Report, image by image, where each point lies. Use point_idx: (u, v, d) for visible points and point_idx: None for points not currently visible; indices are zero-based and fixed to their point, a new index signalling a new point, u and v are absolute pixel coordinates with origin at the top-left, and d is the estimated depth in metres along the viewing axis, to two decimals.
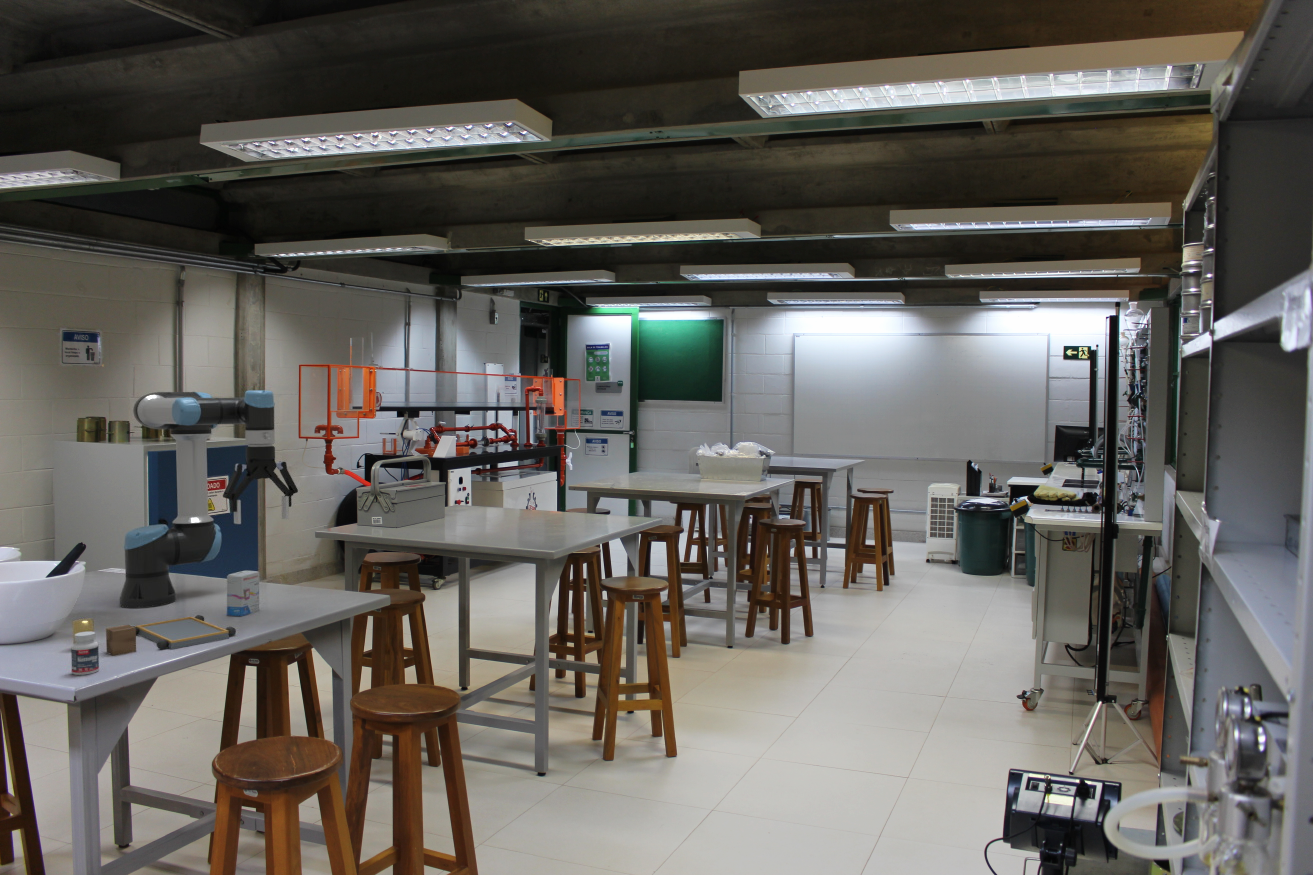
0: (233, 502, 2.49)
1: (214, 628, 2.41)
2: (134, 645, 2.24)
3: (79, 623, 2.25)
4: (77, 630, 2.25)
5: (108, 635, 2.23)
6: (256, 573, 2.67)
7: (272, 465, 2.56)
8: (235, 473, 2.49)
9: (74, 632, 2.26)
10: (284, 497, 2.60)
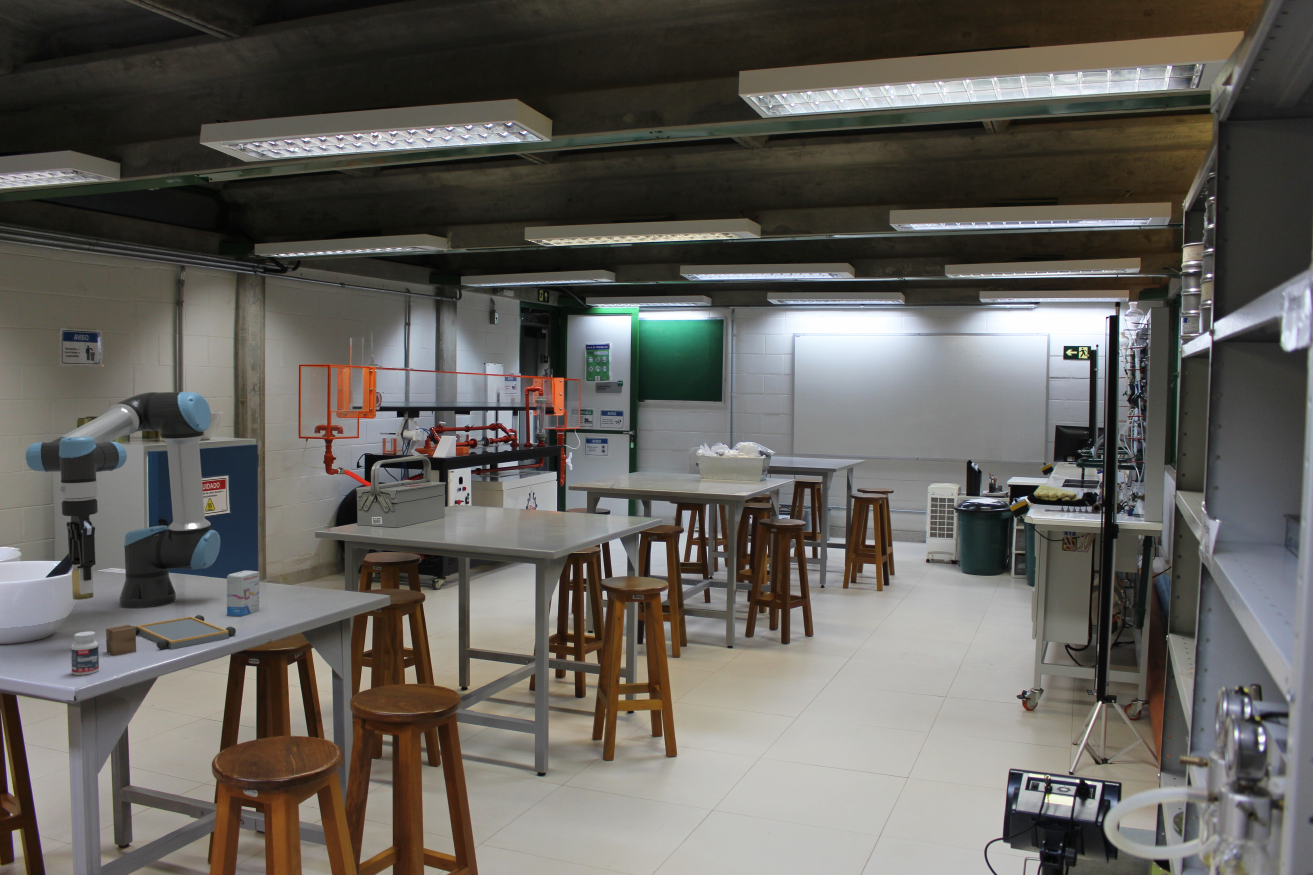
0: None
1: (214, 628, 2.41)
2: (134, 645, 2.24)
3: (78, 572, 2.25)
4: (76, 579, 2.25)
5: (108, 635, 2.23)
6: (256, 573, 2.67)
7: (79, 522, 2.24)
8: None
9: (73, 581, 2.26)
10: None
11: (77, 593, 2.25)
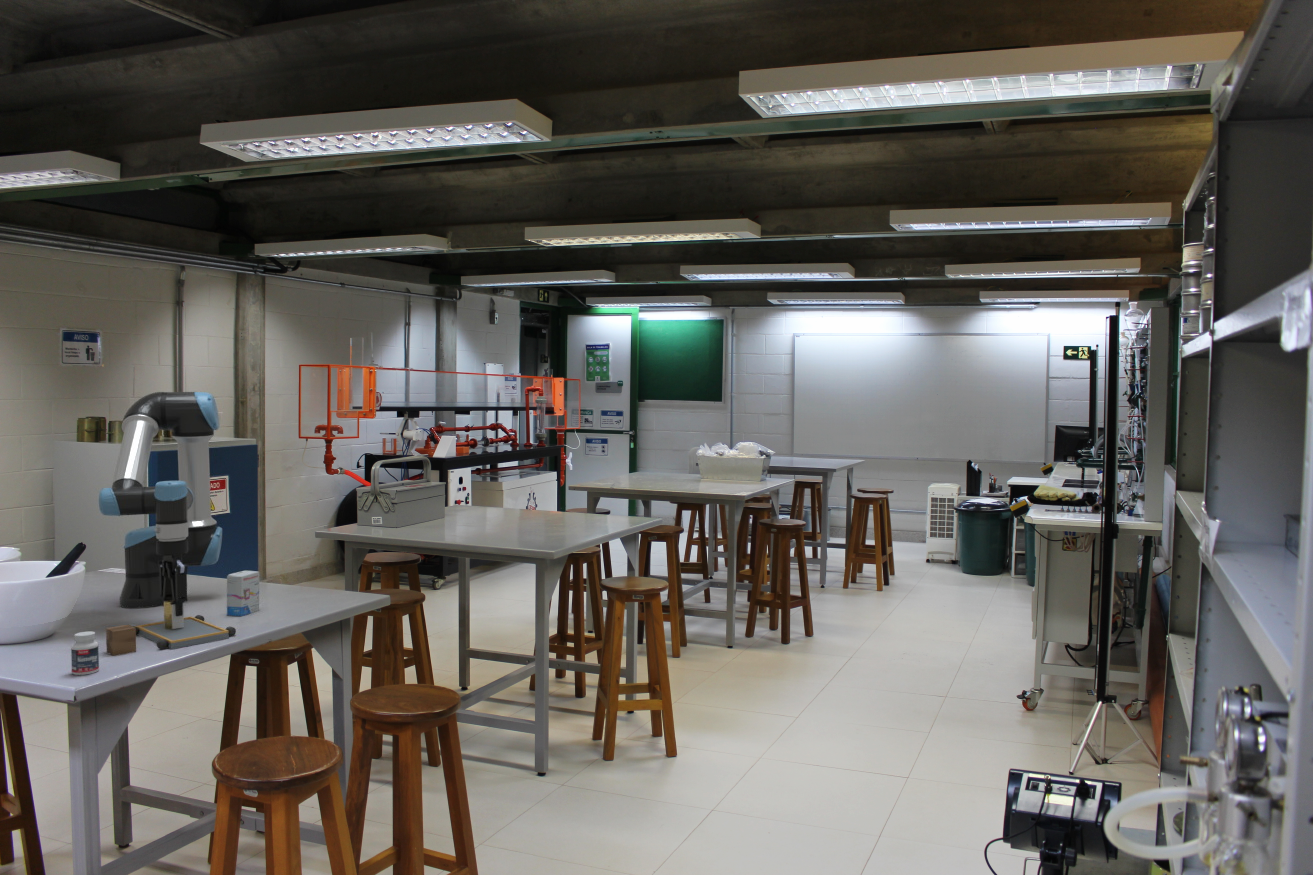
0: None
1: (214, 628, 2.41)
2: (134, 645, 2.24)
3: None
4: (169, 610, 2.40)
5: (108, 635, 2.23)
6: (256, 573, 2.67)
7: (172, 561, 2.39)
8: None
9: (165, 612, 2.40)
10: None
11: (169, 623, 2.40)
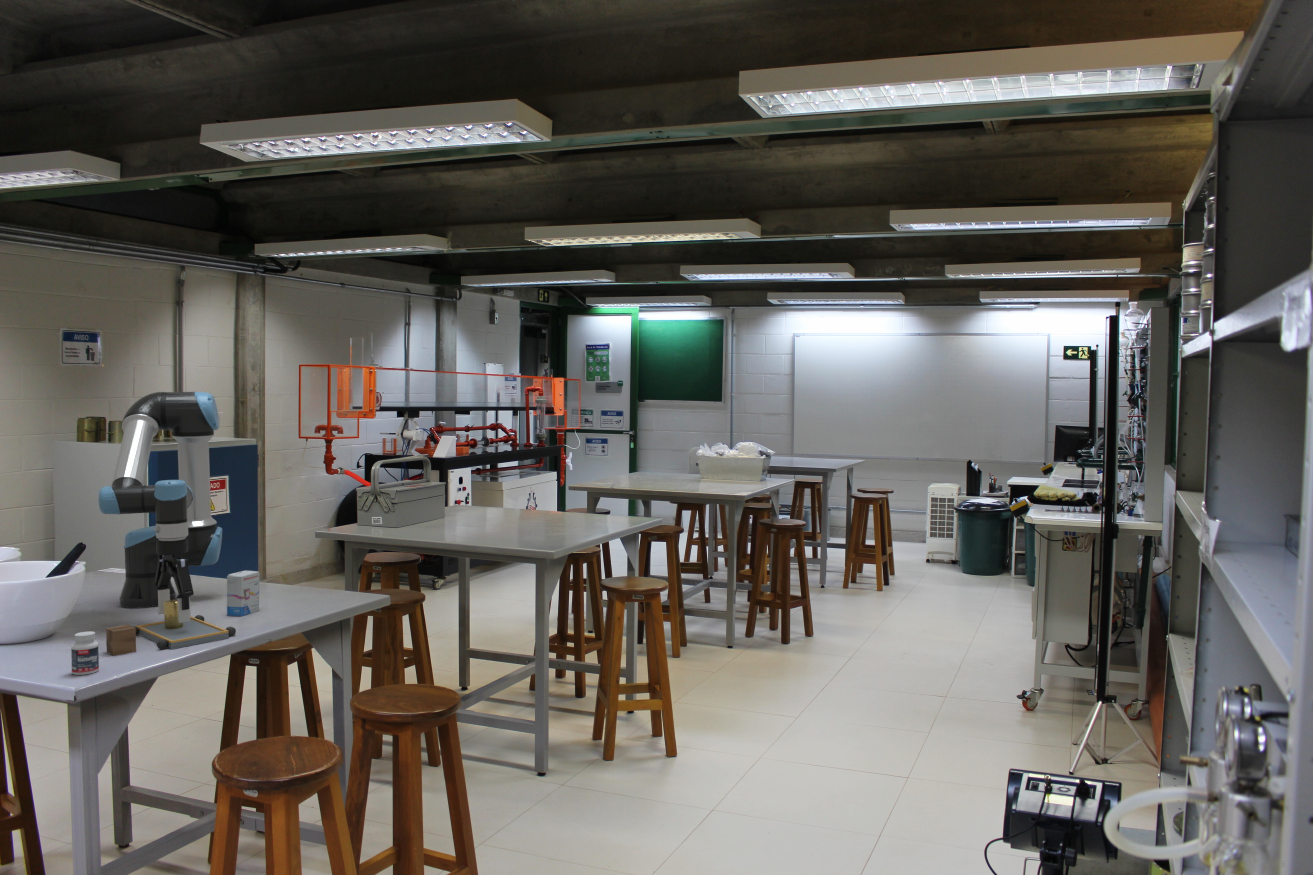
0: None
1: (214, 628, 2.41)
2: (134, 645, 2.24)
3: (170, 603, 2.40)
4: (169, 610, 2.40)
5: (108, 635, 2.23)
6: (256, 573, 2.67)
7: (172, 561, 2.39)
8: None
9: (165, 612, 2.40)
10: None
11: (169, 623, 2.40)
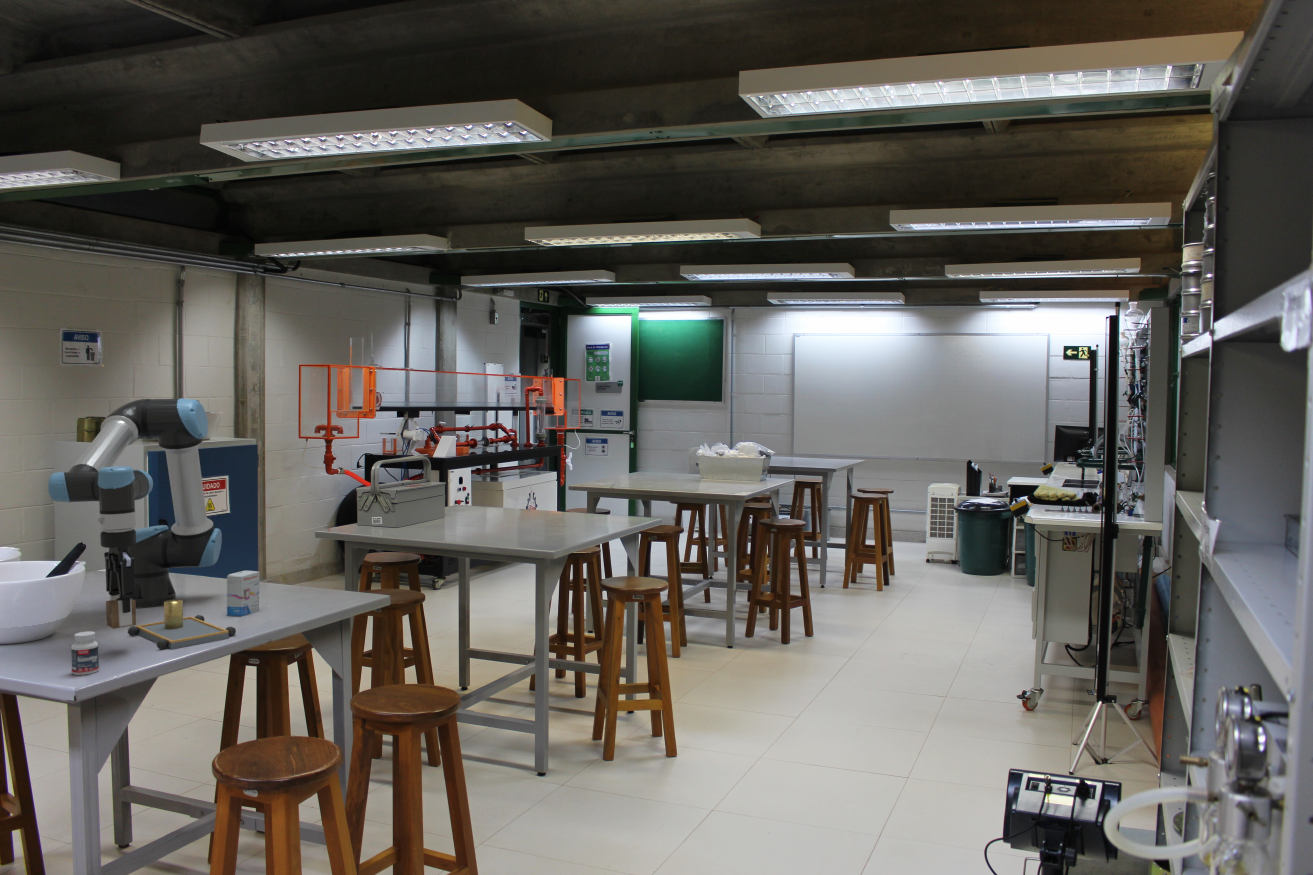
0: None
1: (214, 628, 2.41)
2: (134, 618, 2.24)
3: (170, 603, 2.40)
4: (169, 610, 2.40)
5: (108, 608, 2.23)
6: (256, 573, 2.67)
7: (118, 554, 2.21)
8: None
9: (165, 612, 2.40)
10: None
11: (169, 623, 2.40)
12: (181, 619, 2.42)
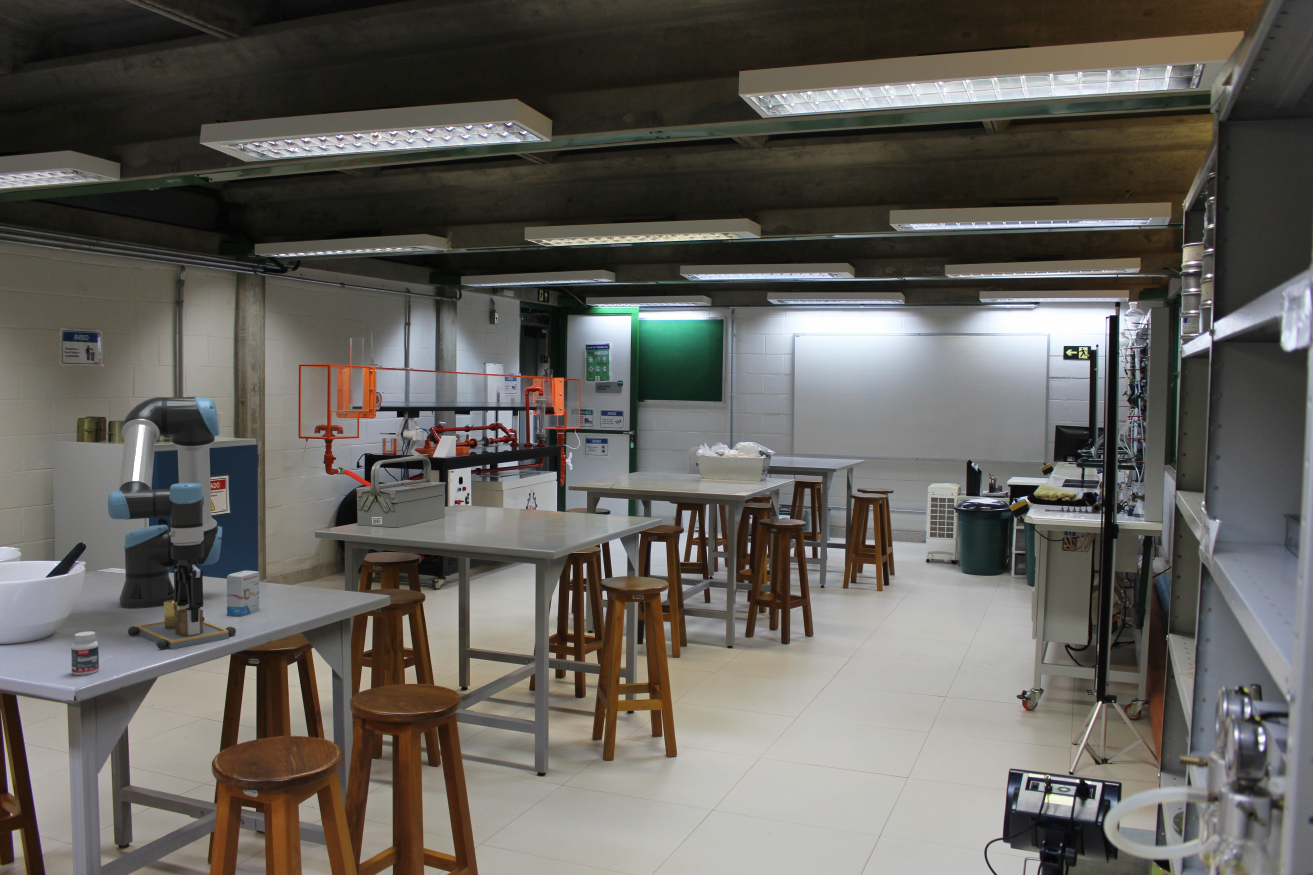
0: None
1: (214, 628, 2.41)
2: (201, 626, 2.36)
3: (170, 603, 2.40)
4: (169, 610, 2.40)
5: (177, 617, 2.35)
6: (256, 573, 2.67)
7: (187, 566, 2.33)
8: None
9: (165, 612, 2.40)
10: None
11: (169, 623, 2.40)
12: None
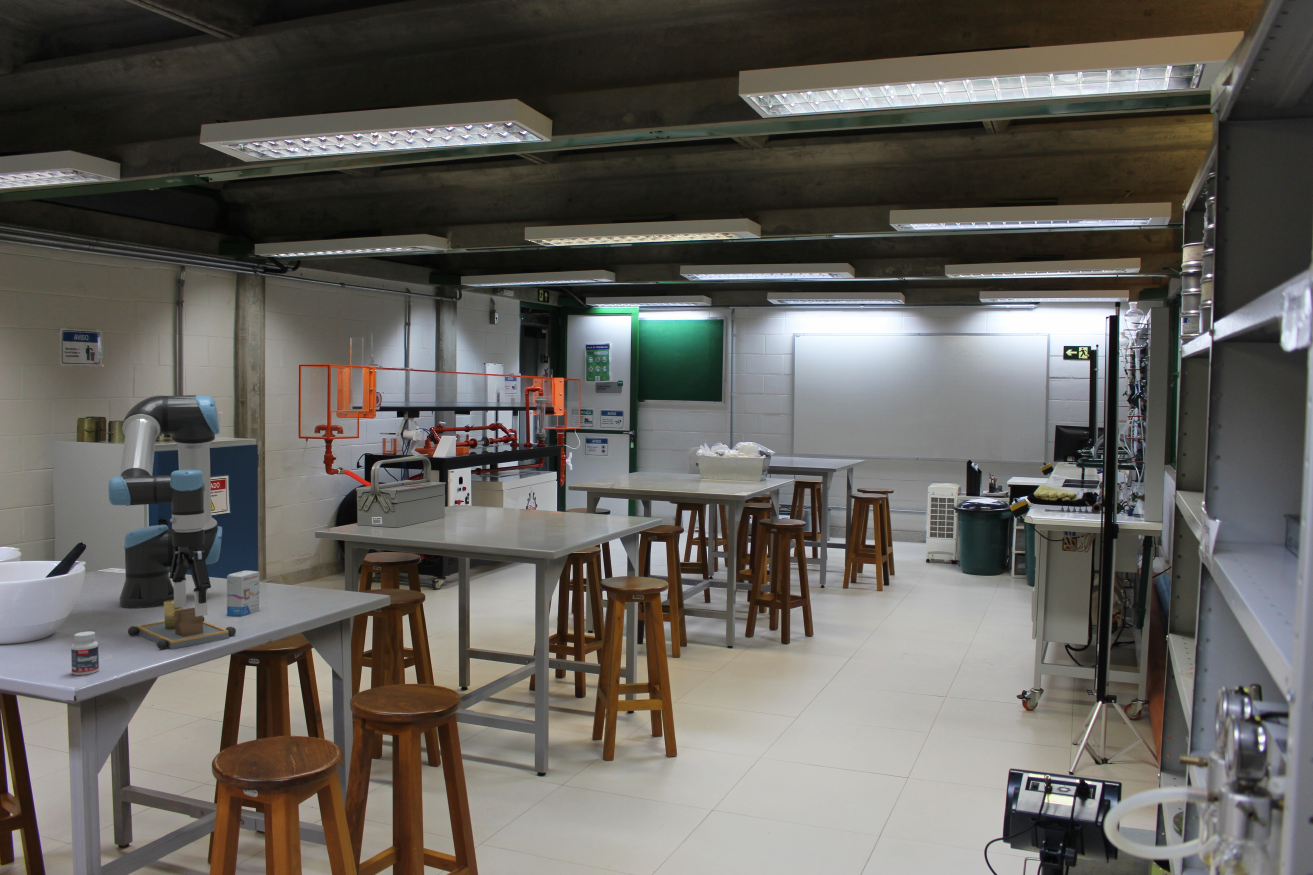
0: None
1: (214, 628, 2.41)
2: (201, 627, 2.36)
3: (170, 603, 2.40)
4: (169, 609, 2.40)
5: (177, 617, 2.35)
6: (256, 573, 2.67)
7: (188, 553, 2.33)
8: None
9: (166, 612, 2.40)
10: None
11: (170, 622, 2.40)
12: None
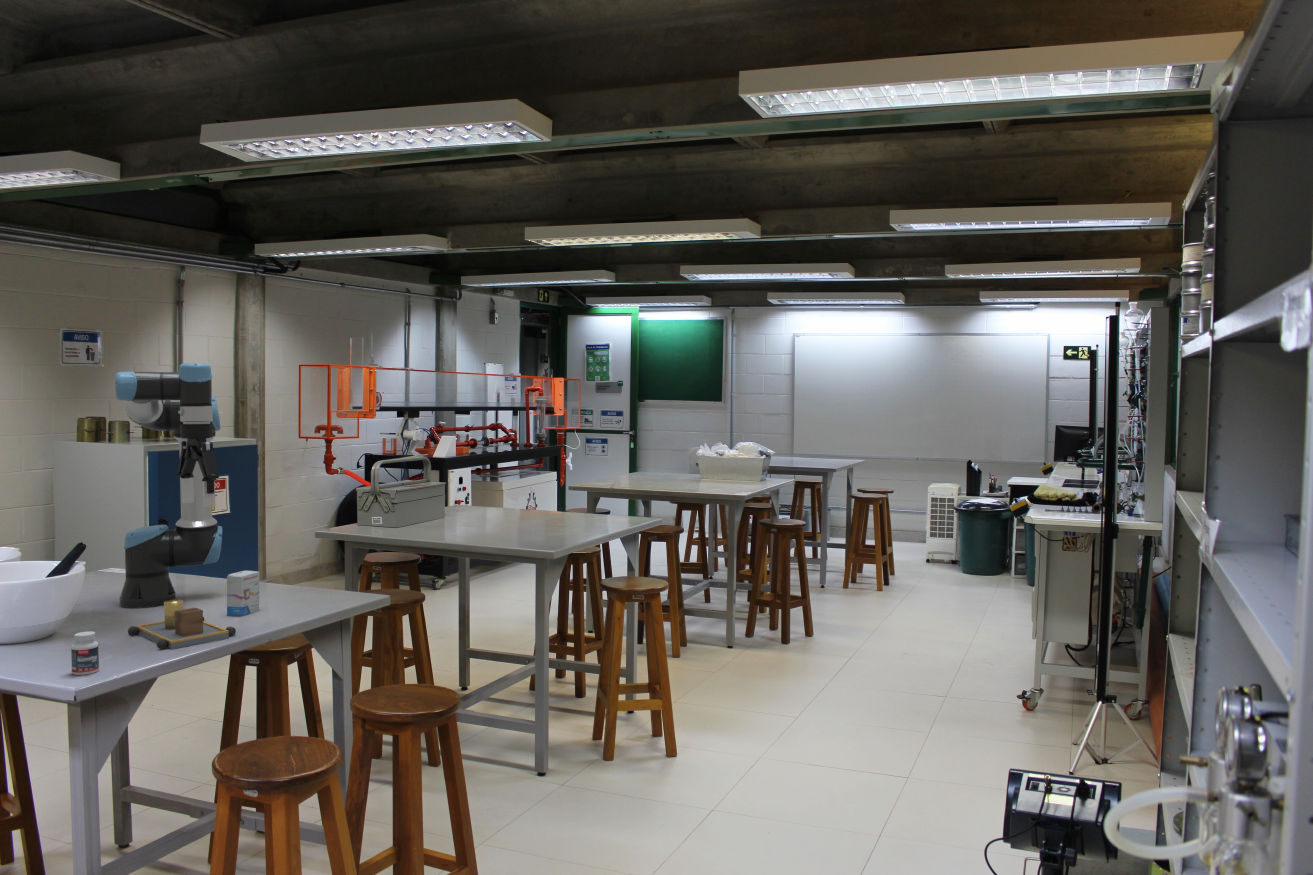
0: None
1: (214, 628, 2.41)
2: (201, 627, 2.36)
3: (170, 603, 2.40)
4: (169, 610, 2.40)
5: (177, 617, 2.35)
6: (256, 573, 2.67)
7: (197, 445, 2.34)
8: None
9: (165, 612, 2.40)
10: None
11: (169, 623, 2.40)
12: None
